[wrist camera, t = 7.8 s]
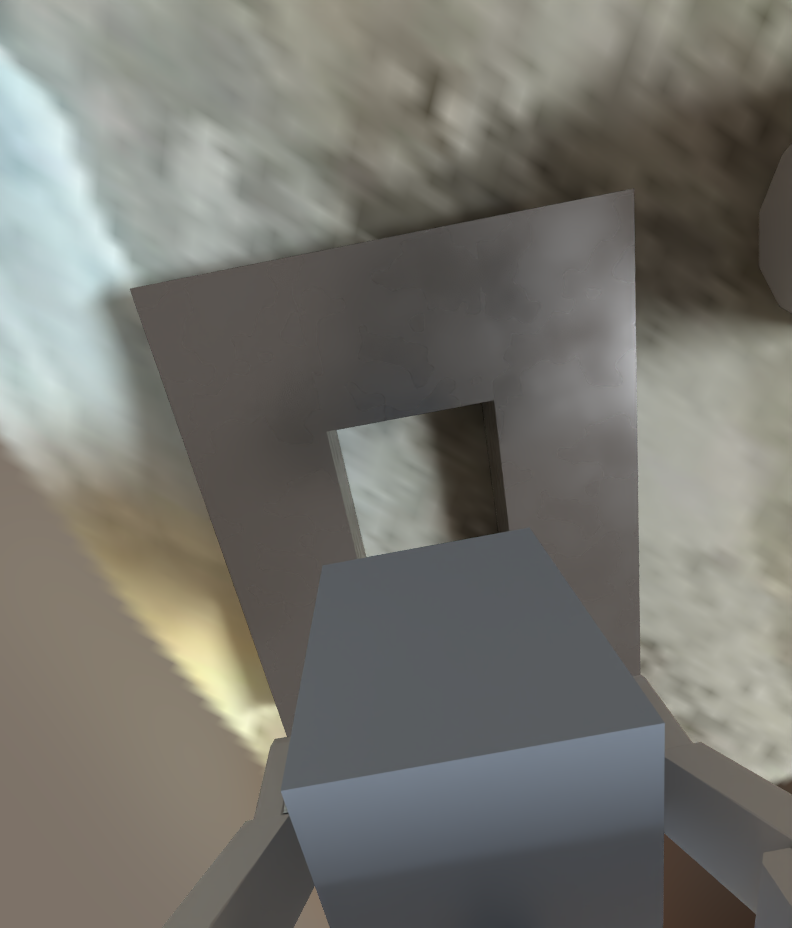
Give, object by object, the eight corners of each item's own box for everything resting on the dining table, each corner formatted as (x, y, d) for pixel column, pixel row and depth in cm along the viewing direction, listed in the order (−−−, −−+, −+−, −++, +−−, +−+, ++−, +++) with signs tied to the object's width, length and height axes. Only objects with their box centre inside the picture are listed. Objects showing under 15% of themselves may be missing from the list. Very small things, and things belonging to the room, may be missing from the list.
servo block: (529, 527, 10) (725, 811, 5) (556, 805, 13) (699, 1195, 7) (322, 565, 10) (262, 890, 5) (393, 833, 13) (409, 1241, 7)
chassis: (598, 202, 17) (634, 188, 15) (614, 649, 24) (640, 688, 21) (163, 289, 18) (129, 288, 15) (299, 703, 24) (291, 747, 22)
